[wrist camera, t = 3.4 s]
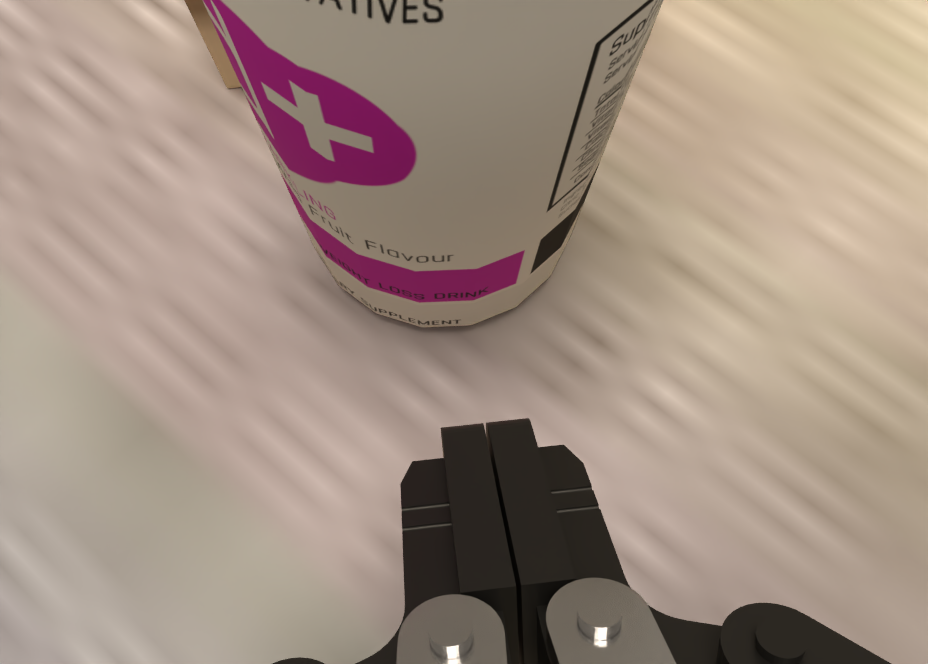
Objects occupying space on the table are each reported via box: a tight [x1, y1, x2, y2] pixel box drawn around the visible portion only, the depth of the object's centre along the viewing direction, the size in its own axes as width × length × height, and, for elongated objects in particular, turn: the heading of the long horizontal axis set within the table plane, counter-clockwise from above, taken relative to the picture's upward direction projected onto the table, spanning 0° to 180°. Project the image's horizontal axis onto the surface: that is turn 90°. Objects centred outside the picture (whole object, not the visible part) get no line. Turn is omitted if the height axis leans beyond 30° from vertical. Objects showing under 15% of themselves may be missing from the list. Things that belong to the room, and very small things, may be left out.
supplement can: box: [202, 0, 663, 327], centre depth 17 cm, size 8×8×15 cm
